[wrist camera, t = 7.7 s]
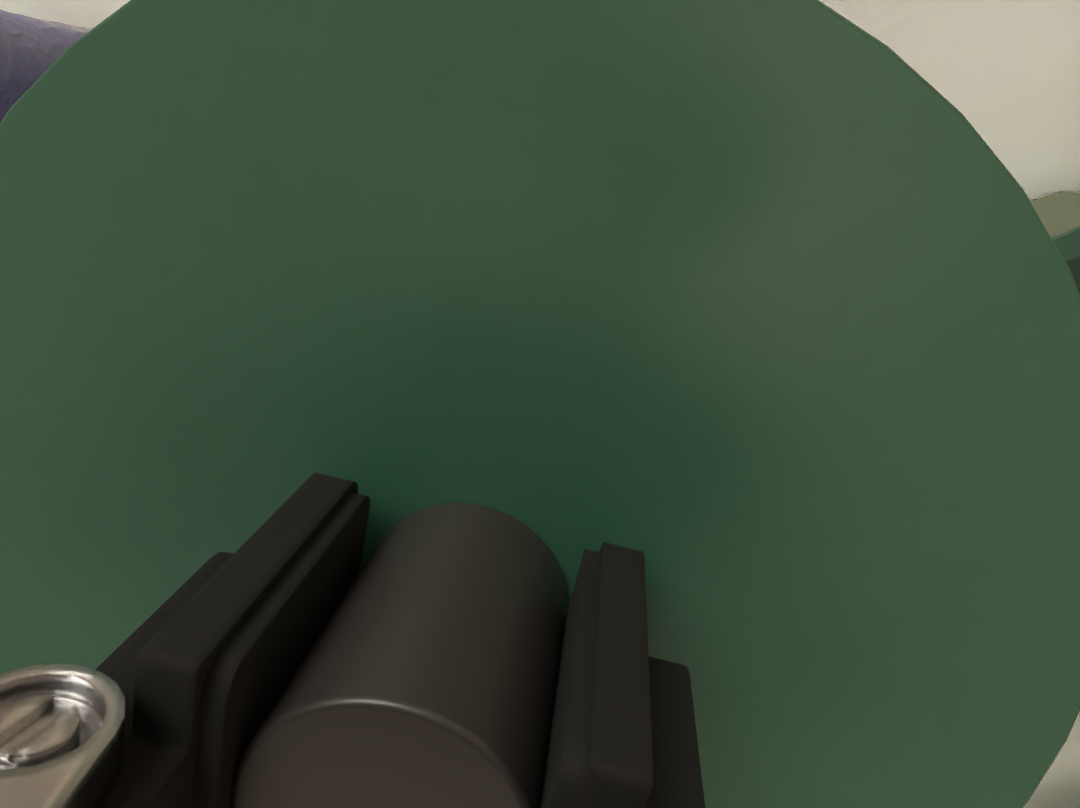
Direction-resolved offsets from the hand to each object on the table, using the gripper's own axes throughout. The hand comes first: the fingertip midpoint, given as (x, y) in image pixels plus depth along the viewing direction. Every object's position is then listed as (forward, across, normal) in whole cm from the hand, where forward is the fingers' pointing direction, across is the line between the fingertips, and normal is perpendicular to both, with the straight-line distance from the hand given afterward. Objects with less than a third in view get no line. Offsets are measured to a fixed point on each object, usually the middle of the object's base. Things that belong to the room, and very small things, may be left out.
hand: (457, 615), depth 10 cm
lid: (+1, 0, 0) cm, 1 cm away
